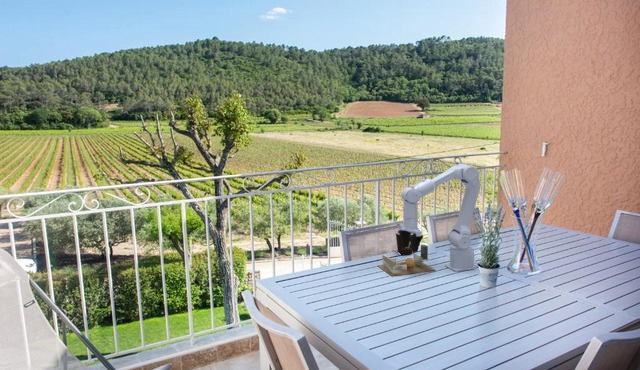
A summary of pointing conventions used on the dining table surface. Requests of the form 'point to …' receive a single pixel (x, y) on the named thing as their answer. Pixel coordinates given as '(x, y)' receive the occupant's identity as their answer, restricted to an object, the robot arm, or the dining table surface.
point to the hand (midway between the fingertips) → (410, 249)
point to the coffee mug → (402, 250)
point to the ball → (409, 262)
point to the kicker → (424, 256)
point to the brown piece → (402, 267)
